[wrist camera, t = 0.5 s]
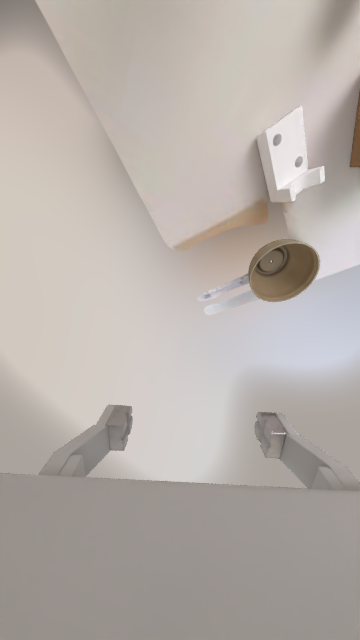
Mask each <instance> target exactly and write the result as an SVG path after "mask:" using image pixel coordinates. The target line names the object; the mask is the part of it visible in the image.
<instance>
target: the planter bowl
mask: <svg viewBox="0 0 360 640" xmlns="http://www.w3.org/2000/svg"><path fill="white" fill-rule="evenodd" d="M271 260H272V263H270V261H271ZM319 267H320V259H319V255H318V253H317V251H316V250H315V249H314V248H313V247H311V246H310V245H308V244H306V243H303V242H300V241H296V240H291V239H282V240H277V241H274V242H271V243H269V244H267V245H265V246H264V247H262V248H261V249H260V250H259V251H258V252H257V253H256V254H255V256H254V257H253V259H252V261H251V263H250V267H249V281H250V287H251V289H252V291H253V293H254V294H255V295H256V296H257V297H258V298H260V299H262V300H264V301H268V302H280V301H285V300H288V299H291V298H293V297H295V296H297V295H299V294H300V293H301V292H303V291H304V290H306V289H307V288H308V287H309V286H310V285H311V283H312V282H313V281H314V279H315V278H316V276H317V274H318V271H319Z"/></svg>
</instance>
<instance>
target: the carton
mask: <svg viewBox="0 0 360 640" xmlns="http://www.w3.org/2000/svg"><path fill="white" fill-rule="evenodd" d="M350 167H360V92H359V100H358V108H357V116H356V123H355V131H354V139H353V147H352V154H351V162H350Z"/></svg>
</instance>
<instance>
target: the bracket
mask: <svg viewBox="0 0 360 640" xmlns="http://www.w3.org/2000/svg"><path fill="white" fill-rule="evenodd" d="M256 139H257V143H258V148H259V152H260V157H261V161H262V166H263V170H264V175H265V179H266V184H267V188H268V193H269V197H270V202H293V201H294V200H296V194H297V193H299V192H300V191H302V190H304V189H306V188H308V187H310V186H313V185H316V184H321V183H322V182H324V181H325V173H324V166H322V167H317V168H313V169H308V160H307V151H306V141H305V131H304V121H303V111H302V105H301V106H299V107H298V108H296V109H294V110H293V111H291V112H290V113H289V114H287V115H286V116H284V117H283V118H282V119H280V120H279V121H278V122H276V123H275V124H273V125H272V126H270V127H269V128H267V129H266V130H265V131H263V132H262V133H261V134H259V135H258V136H256Z"/></svg>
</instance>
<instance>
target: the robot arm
mask: <svg viewBox="0 0 360 640" xmlns="http://www.w3.org/2000/svg"><path fill="white" fill-rule="evenodd" d="M131 413H132V407H131V406H122V405H108V406H107V407H106V408H105V410H104V412H103V414H102V416H101V417H100V419H99V421H98V422H97V424H96V425H93V426H92V427H90V428H89V429H87V430H86V431H84V432H83V433H81V434H80V435H79V436H77V437H76V438H74V439H73V440H71V441H70V442H69V443H67V444H66V445H64V446H63V447H61V448H60V449H58V450H57V451H56V452H54V453H53V455H52V456H51V458H50V459H49V460H48V462H47V463H46V464H45V466H44V467H43V469H42V470H41V471H40V473H39V474H38V475H30V474H28V475H27V474H9V473H0V640H360V482H359V481H358V480H357V479H356V477H355V476H354V475H353V474H352V472H351V471H350V470H349V469H348V468H347V467H346V466H345V465H343V464H342V463H340V462H339V461H338V460H336V459H334V458H333V457H332V456H330V455H329V454H327V453H326V452H325V451H323V450H322V449H320V448H319V447H317V446H316V445H314V444H313V443H312V442H310V441H309V440H307V439H306V438H304V437H303V436H301V435H298V434H297V432H296V431H295V430H294V428H293V427H292V425H291V424H290V423H289V421H288V420H287V418H286V417H285V415H284V414H283V413H268V412H258V413H257V416H256V417H257V420H258V421H257V422H256V423H255V434H256V437H257V439H258V440H259V441H260V442H261V449H262V451H263V453H264V455H265V457H266V458H278V459H280V460H281V461H282V462H283V463H284V464H285V465H286V466H287V467H288V468H289V469H290V470H291V471H292V472H293V473H294V474H295V475H296V476H297V477H298V478H299V479H300V480H301V482H302V483H303V484H304V485H305V486H306V487H308V489H306V488H288V487H268V486H267V487H266V486H248V485H228V484H209V483H189V482H168V481H149V480H129V479H110V478H90V477H86V476H87V475H88V474H89V472H90V471H91V470H92V469H93V468H94V467H95V466H96V465H97V464H98V463H99V462H100V461H101V460H102V459H103V458H104V457H105V456H106V454H108V453H109V451H110V450H119V451H121V450H122V451H123V450H124V449H125V447H126V444H127V441H128V439H127V438H128V435H129V434H130V431H131V428H132V416H131Z"/></svg>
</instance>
